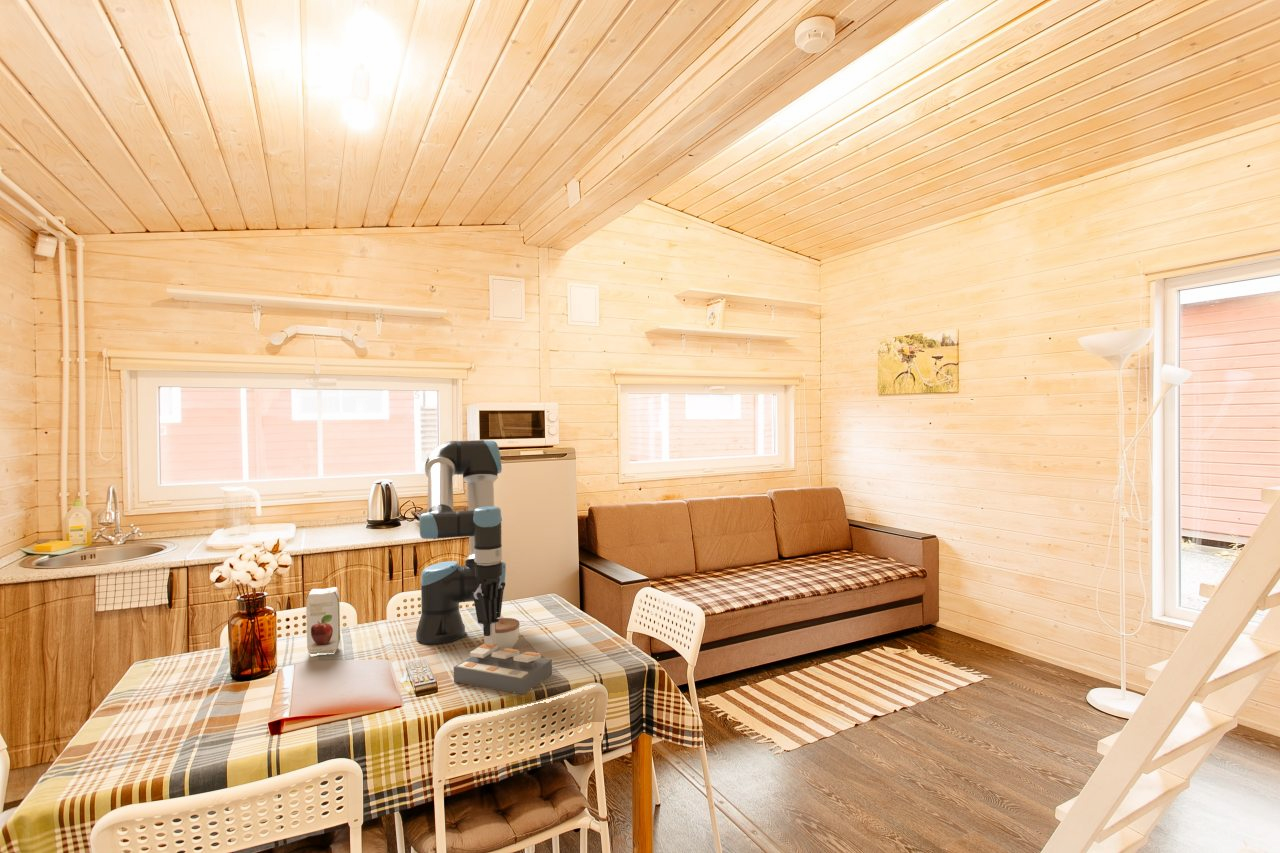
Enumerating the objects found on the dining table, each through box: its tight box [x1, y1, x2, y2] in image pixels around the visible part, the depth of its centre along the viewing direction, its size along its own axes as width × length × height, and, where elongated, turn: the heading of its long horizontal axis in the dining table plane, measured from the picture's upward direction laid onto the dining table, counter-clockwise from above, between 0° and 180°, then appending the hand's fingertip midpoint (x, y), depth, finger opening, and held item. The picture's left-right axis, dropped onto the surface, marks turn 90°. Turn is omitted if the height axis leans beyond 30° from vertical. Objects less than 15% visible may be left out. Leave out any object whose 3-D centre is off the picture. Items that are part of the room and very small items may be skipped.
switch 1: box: [469, 643, 498, 658], centre depth 174 cm, size 4×7×1 cm, turn 158°
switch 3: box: [513, 651, 542, 663], centre depth 169 cm, size 4×7×1 cm, turn 158°
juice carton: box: [305, 586, 341, 654], centre depth 191 cm, size 8×9×19 cm
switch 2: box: [491, 648, 520, 659], centre depth 172 cm, size 4×7×1 cm, turn 158°
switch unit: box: [453, 650, 553, 695], centre depth 171 cm, size 22×14×5 cm, turn 68°
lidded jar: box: [495, 617, 520, 651], centre depth 193 cm, size 11×11×9 cm
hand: (489, 645), depth 177 cm, fingers closed
